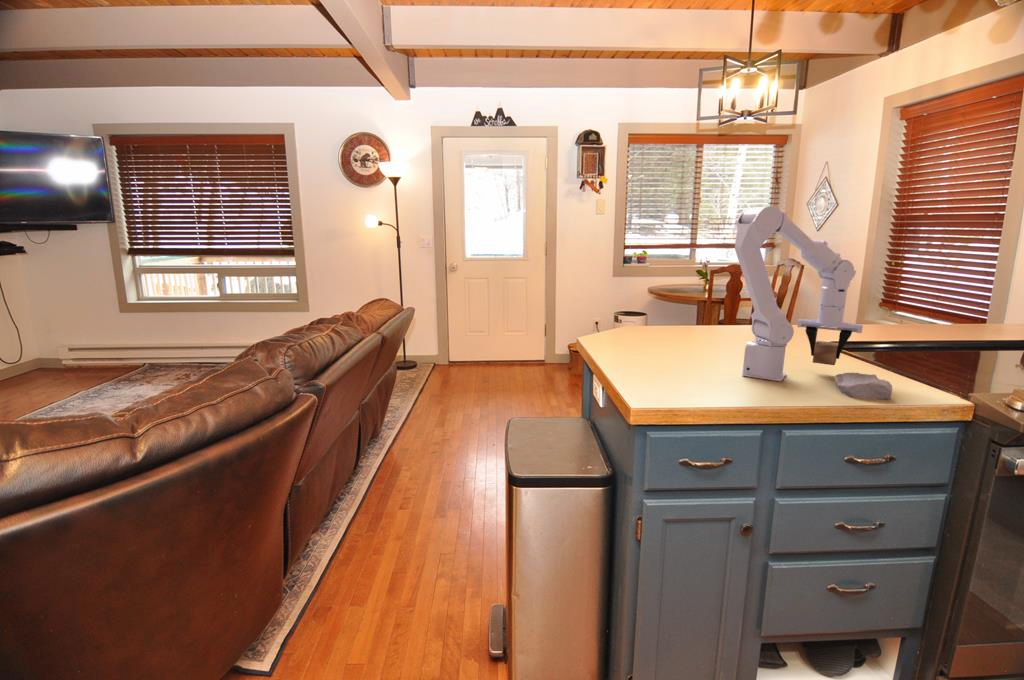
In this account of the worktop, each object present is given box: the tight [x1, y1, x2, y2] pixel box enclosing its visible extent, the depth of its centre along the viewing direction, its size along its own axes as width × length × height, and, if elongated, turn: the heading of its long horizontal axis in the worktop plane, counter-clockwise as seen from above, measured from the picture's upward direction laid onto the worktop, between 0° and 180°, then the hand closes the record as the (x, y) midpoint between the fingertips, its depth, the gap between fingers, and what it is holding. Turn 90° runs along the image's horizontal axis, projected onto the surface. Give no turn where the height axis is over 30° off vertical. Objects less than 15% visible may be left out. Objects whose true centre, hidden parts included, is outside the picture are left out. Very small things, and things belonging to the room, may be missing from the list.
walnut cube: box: [812, 340, 839, 366], centre depth 139 cm, size 5×5×5 cm
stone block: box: [834, 372, 893, 401], centre depth 126 cm, size 12×5×10 cm
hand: (825, 356), depth 139 cm, fingers closed on walnut cube, 5 cm apart
